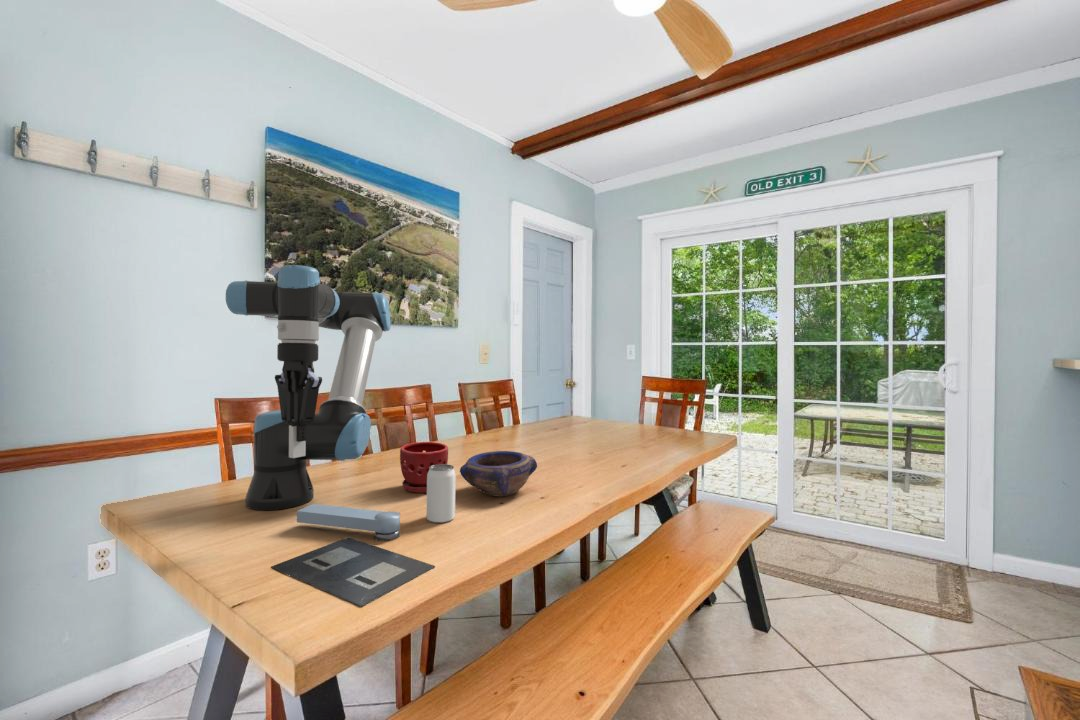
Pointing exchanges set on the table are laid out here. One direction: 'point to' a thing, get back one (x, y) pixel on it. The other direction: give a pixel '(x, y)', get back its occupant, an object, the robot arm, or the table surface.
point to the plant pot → (420, 463)
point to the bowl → (498, 471)
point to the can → (441, 493)
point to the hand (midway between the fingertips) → (297, 456)
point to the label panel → (354, 570)
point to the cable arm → (350, 518)
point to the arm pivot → (387, 536)
